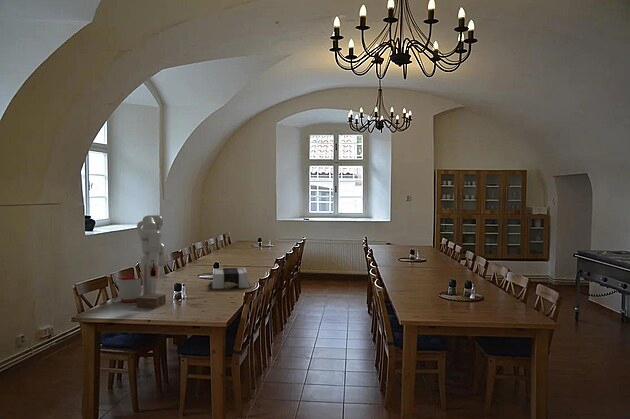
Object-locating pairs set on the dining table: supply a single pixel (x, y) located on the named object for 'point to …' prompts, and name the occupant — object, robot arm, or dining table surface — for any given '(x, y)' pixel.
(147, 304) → the walnut block
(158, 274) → the terracotta block
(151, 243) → the robot arm
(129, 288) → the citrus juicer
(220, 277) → the grey black bridge block
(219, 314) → the dining table surface
